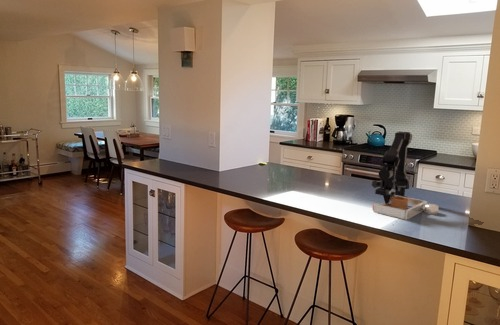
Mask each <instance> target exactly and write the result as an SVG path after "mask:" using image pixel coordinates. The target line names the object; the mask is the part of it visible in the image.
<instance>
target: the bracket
mask: <svg viewBox="0 0 500 325" xmlns="http://www.w3.org/2000/svg"><path fill="white" fill-rule="evenodd" d="M380 204H381V205H386V206H390V207H395V208H399V209H403V210H407V209H408V207H409V206H408V199H407V198H405V197H401V196H393V197H391V201H390V203H389V204H385V203H380ZM372 211H373V212H374V203H373V204H372Z"/></svg>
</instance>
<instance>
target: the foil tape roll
mask: <svg viewBox="0 0 500 325" xmlns="http://www.w3.org/2000/svg"><path fill="white" fill-rule="evenodd" d="M423 212H424V213H425V214H427V215H438V214H439V205H438V204H434V203H427V204H425V210H424V211H423Z"/></svg>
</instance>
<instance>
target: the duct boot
mask: <svg viewBox="0 0 500 325" xmlns="http://www.w3.org/2000/svg"><path fill="white" fill-rule="evenodd" d="M395 196H399V195H395ZM401 197H404V196H401ZM405 198H407V199H408V206H407V207H410V208H407V210H403V209H399V208H395V207H390V206H386V205H381V204H382V203H377V202H376V203H373V204H374V211H373V213H377V214H381V215H385V216H389V217H393V218H397V219H401V220H405V221H407V220H409V219H411V218H413V217H415V216H417V215H419V214H420V213H422V212H424V210H425V204H428V201H427V200H424V199H423V200H422V199H418V198H412V197H407V196H406V197H405Z"/></svg>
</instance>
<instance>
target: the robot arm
mask: <svg viewBox="0 0 500 325" xmlns="http://www.w3.org/2000/svg"><path fill="white" fill-rule="evenodd" d="M412 139H413V134H412V133H411V132H410V131H397V132H395V133H394V138H393V141H392V144H391V145H390V148H389V149H388V150H386V151H385V153H384V155H383V156H382V160H381V163H380V167H382V169H380V170H379V172H378V177H379V179H380V180H372V182H371V186H372V187H373V189H374V190H375V191H374V194H375V195H379V196H383V200H384V204H390V203H391V197H393V196H395V195H399V196H404V197H407V196H406V190H409V189H410V180H409V178H408V177H409V176H408V174H407V171H406V166H407V154H408V147H409V146H410V144H411V142H412Z"/></svg>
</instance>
